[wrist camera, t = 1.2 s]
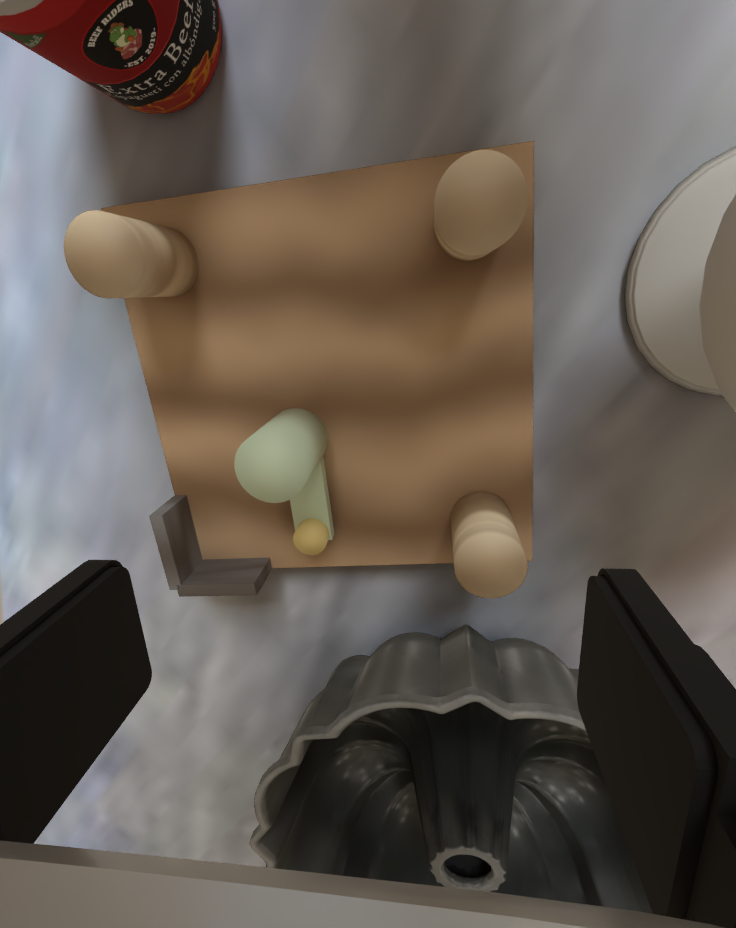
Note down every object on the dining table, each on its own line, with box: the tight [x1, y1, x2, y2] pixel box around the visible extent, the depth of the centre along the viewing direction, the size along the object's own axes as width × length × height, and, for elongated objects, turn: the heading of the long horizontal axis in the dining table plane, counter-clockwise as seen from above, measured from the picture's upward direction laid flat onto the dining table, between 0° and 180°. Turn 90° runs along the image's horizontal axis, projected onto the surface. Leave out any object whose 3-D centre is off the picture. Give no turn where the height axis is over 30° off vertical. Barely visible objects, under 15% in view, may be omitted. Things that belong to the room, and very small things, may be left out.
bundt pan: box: [249, 625, 653, 914], centre depth 33 cm, size 26×26×10 cm
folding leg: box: [234, 408, 334, 555], centre depth 26 cm, size 9×4×6 cm, turn 6°
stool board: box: [64, 141, 534, 598], centre depth 26 cm, size 22×22×8 cm
